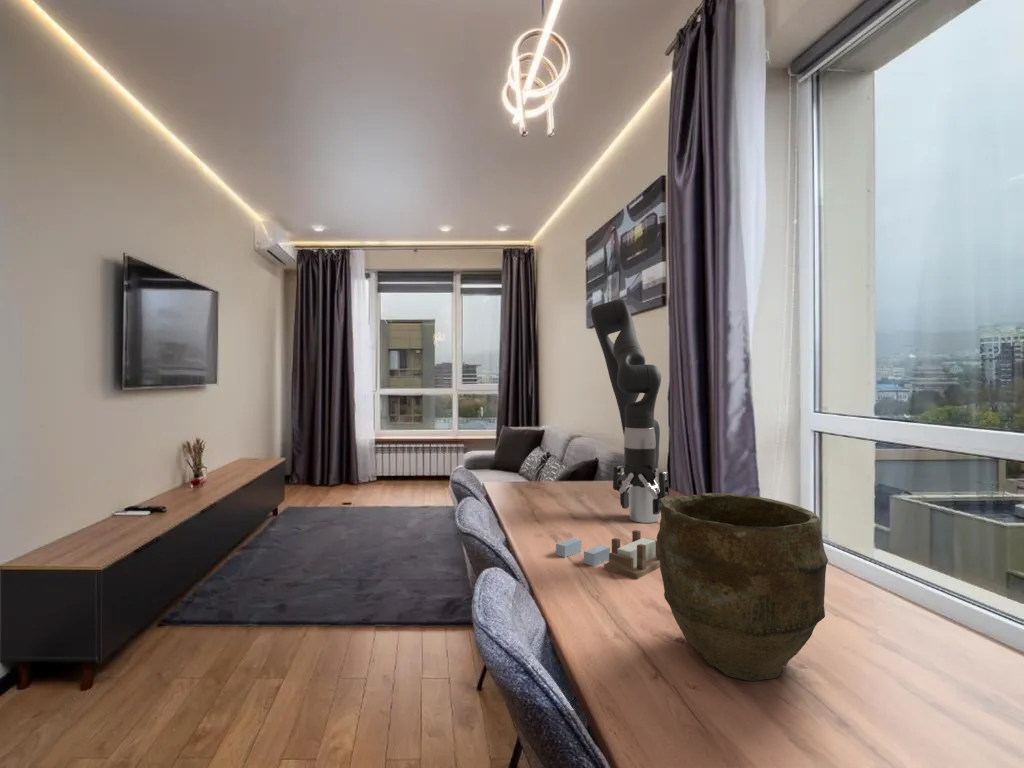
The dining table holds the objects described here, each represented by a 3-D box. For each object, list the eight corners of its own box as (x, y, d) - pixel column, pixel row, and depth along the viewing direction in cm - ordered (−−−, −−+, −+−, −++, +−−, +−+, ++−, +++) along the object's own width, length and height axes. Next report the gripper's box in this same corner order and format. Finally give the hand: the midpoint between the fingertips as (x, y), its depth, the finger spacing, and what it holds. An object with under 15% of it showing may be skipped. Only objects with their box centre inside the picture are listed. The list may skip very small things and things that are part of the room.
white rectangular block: (617, 565, 123) (617, 548, 123) (643, 553, 131) (643, 537, 131) (630, 568, 120) (630, 551, 120) (655, 556, 129) (655, 540, 129)
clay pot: (802, 630, 92) (802, 492, 92) (856, 719, 68) (854, 531, 68) (656, 614, 99) (656, 485, 99) (657, 689, 75) (656, 519, 75)
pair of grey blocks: (572, 548, 139) (572, 537, 139) (609, 559, 131) (609, 547, 131) (556, 555, 134) (555, 543, 134) (593, 566, 126) (593, 554, 126)
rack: (640, 552, 136) (640, 527, 136) (672, 560, 129) (672, 534, 129) (603, 569, 123) (603, 541, 123) (636, 579, 117) (636, 549, 117)
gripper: (606, 444, 128) (607, 509, 129) (658, 449, 118) (659, 519, 119) (622, 441, 134) (623, 503, 134) (673, 446, 124) (674, 512, 124)
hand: (640, 510), depth 126 cm, fingers open, 8 cm apart
